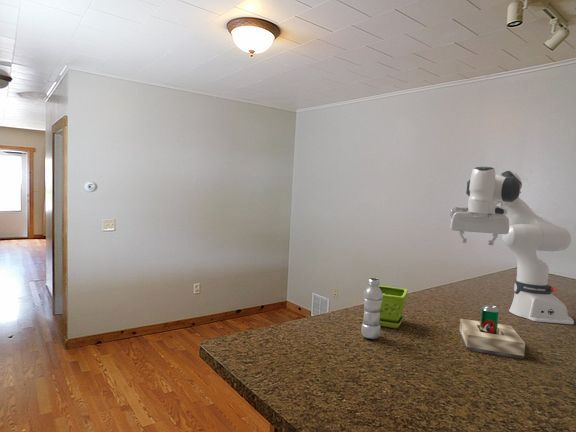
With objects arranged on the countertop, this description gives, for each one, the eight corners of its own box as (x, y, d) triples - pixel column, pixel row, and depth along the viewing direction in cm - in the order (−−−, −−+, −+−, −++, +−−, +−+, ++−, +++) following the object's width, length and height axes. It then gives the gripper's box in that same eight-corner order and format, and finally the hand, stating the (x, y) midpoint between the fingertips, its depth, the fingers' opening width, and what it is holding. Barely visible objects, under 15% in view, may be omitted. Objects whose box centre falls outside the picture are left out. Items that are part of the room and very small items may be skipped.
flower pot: (406, 320, 140) (408, 288, 139) (401, 332, 128) (404, 297, 127) (370, 314, 146) (372, 283, 145) (362, 325, 133) (364, 291, 133)
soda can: (499, 345, 118) (502, 309, 117) (485, 345, 117) (488, 309, 117) (488, 338, 123) (492, 304, 122) (475, 338, 122) (478, 304, 122)
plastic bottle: (381, 335, 124) (384, 278, 123) (379, 343, 118) (383, 282, 116) (362, 332, 126) (365, 276, 125) (359, 339, 120) (363, 280, 118)
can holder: (509, 339, 126) (510, 325, 126) (523, 359, 111) (525, 343, 110) (459, 332, 131) (460, 318, 130) (466, 349, 116) (467, 334, 115)
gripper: (452, 207, 139) (449, 242, 140) (512, 210, 133) (508, 247, 134) (450, 206, 145) (447, 240, 146) (507, 209, 139) (504, 245, 140)
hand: (477, 244), depth 140 cm, fingers open, 8 cm apart
